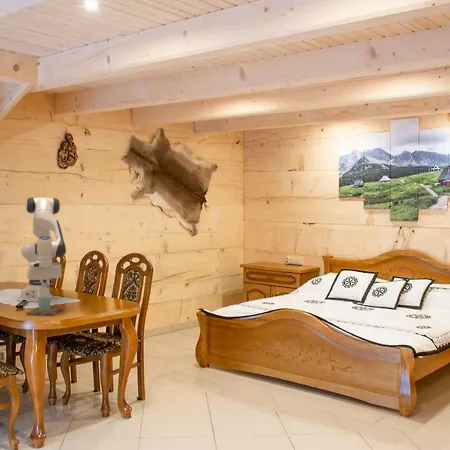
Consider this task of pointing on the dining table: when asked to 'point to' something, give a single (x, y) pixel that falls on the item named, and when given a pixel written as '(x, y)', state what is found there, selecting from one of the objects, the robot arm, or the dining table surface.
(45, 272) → the robot arm
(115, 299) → the dining table surface
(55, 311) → the board
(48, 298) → the teal rounded block
